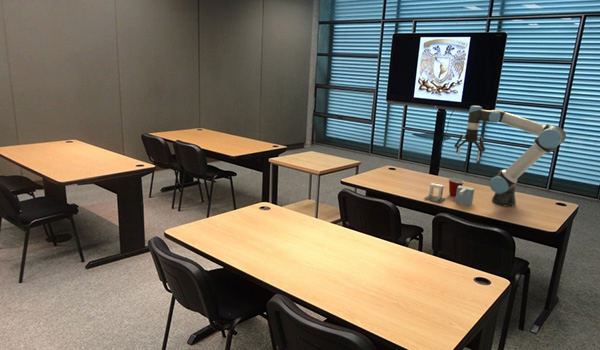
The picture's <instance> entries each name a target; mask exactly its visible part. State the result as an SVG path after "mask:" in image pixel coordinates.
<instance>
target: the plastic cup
mask: <svg viewBox="0 0 600 350" xmlns="http://www.w3.org/2000/svg"><path fill="white" fill-rule="evenodd" d="M448 183H449V185H448V187H449V188H448V189H449V190H448V191H449V193H448V194H449V196H450V197H453V198H454V197H455V198H456V192H457V187H458V186H459V185H460V186H463V184H464V183H465V181H464V180H463V179H460V178H457V177H456V178H455V177H449V178H448Z"/></svg>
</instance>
